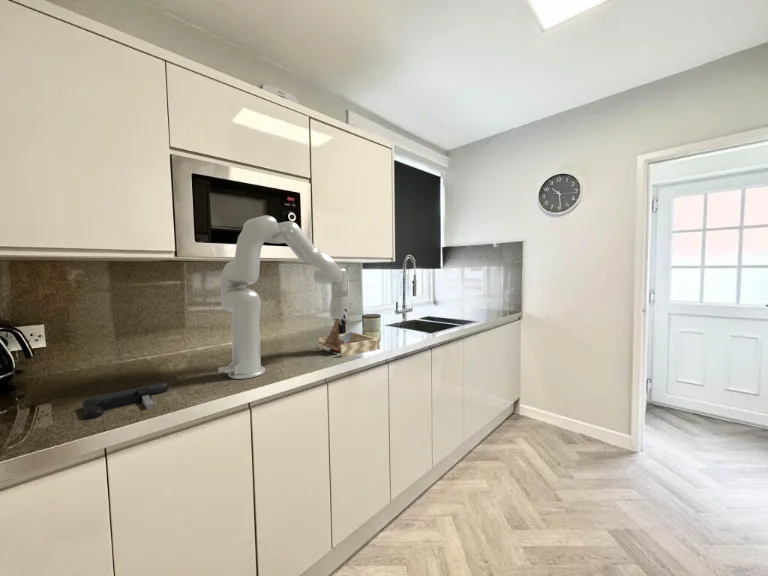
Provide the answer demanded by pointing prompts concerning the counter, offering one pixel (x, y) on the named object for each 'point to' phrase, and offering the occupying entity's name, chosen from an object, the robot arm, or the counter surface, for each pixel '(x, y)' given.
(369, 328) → the coffee can
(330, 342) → the upright wooden block
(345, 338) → the canned food
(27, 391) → the counter surface
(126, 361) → the counter surface
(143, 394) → the door handle
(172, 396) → the counter surface
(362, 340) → the box
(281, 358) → the counter surface
